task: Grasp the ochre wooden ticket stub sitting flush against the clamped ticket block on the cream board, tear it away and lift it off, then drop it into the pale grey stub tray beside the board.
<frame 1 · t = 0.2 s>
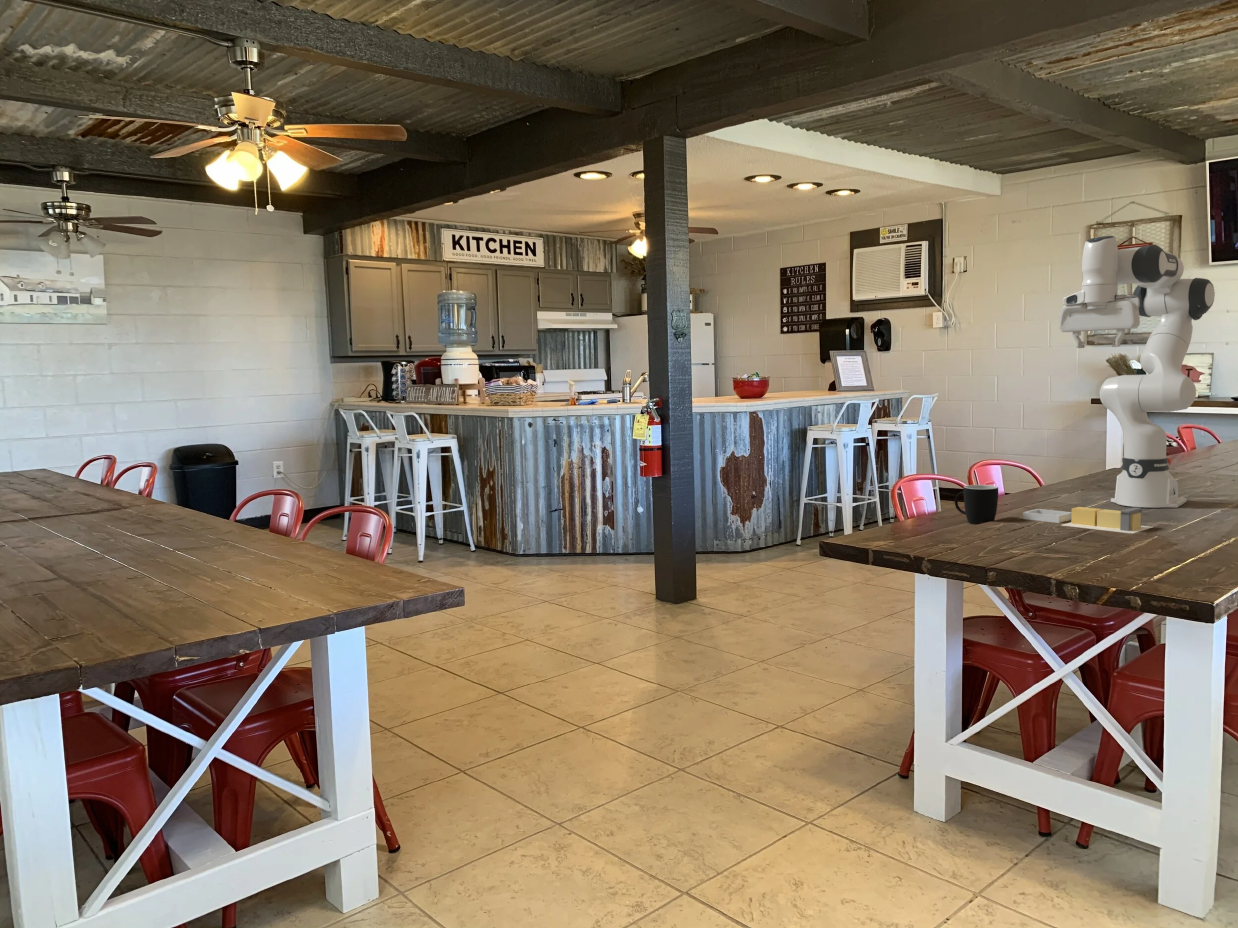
hand: (1098, 347, 252), 47 cm above the table, fingers open, 8 cm apart
stub: (1086, 523, 242), point 1 cm above the table, touching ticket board
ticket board: (1106, 530, 238), on the table
stub tray: (1047, 523, 251), on the table
mug: (975, 522, 256), on the table
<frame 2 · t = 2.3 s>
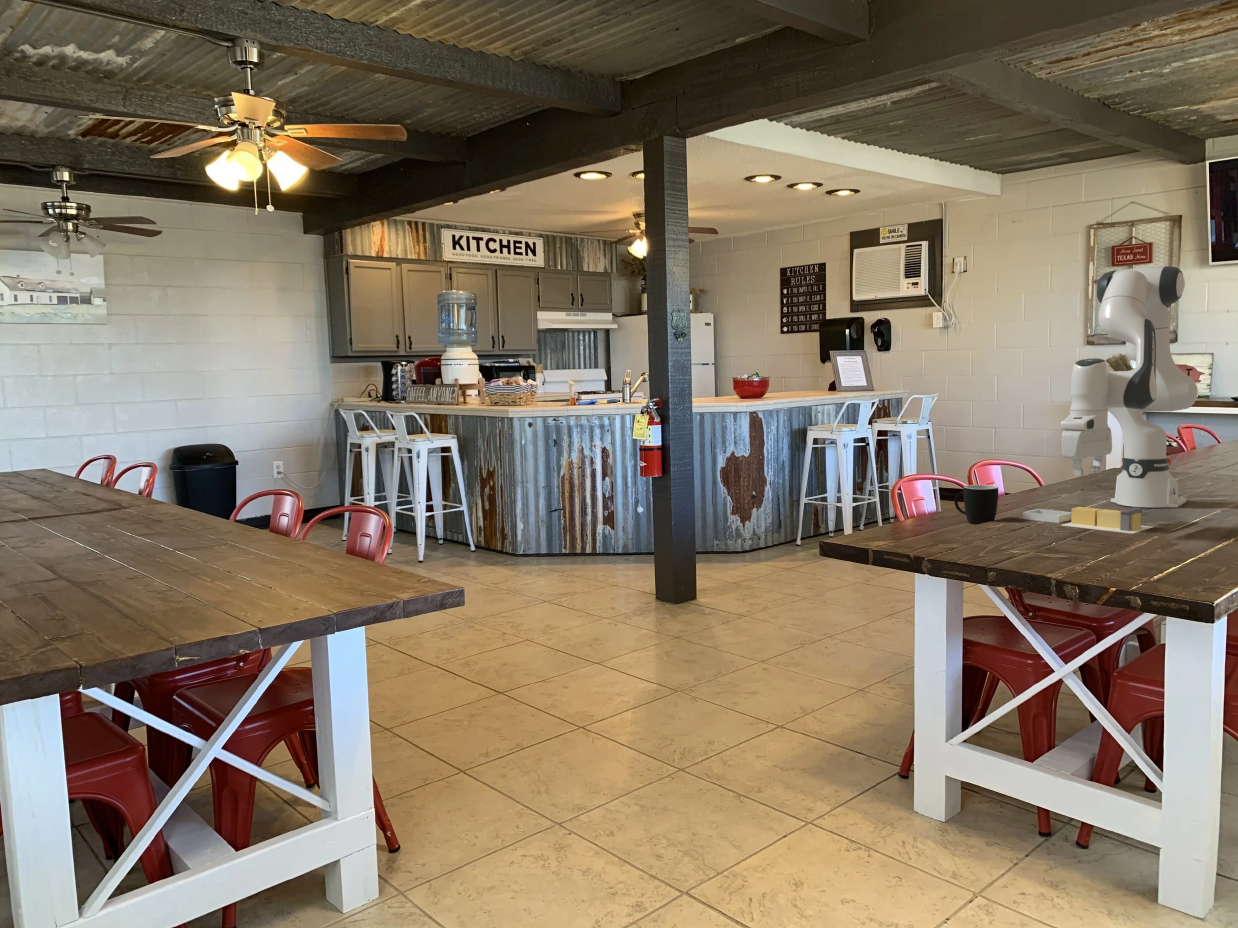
hand: (1087, 474, 240), 14 cm above the table, fingers open, 8 cm apart
nothing on the table moved.
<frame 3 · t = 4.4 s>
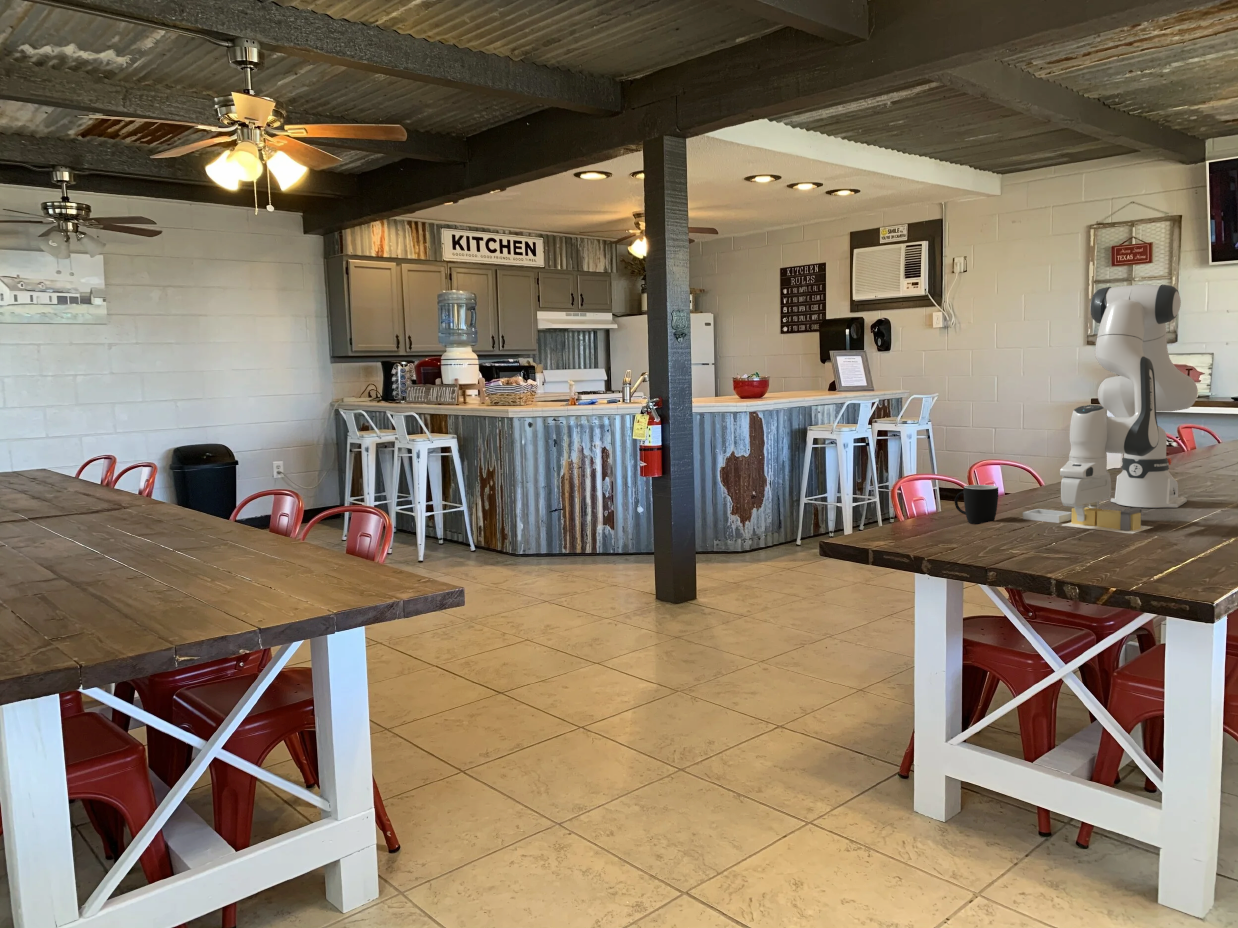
hand: (1086, 519, 241), 2 cm above the table, fingers closed on stub, 4 cm apart
stub: (1086, 523, 242), point 1 cm above the table, touching gripper, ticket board
everything else where it was.
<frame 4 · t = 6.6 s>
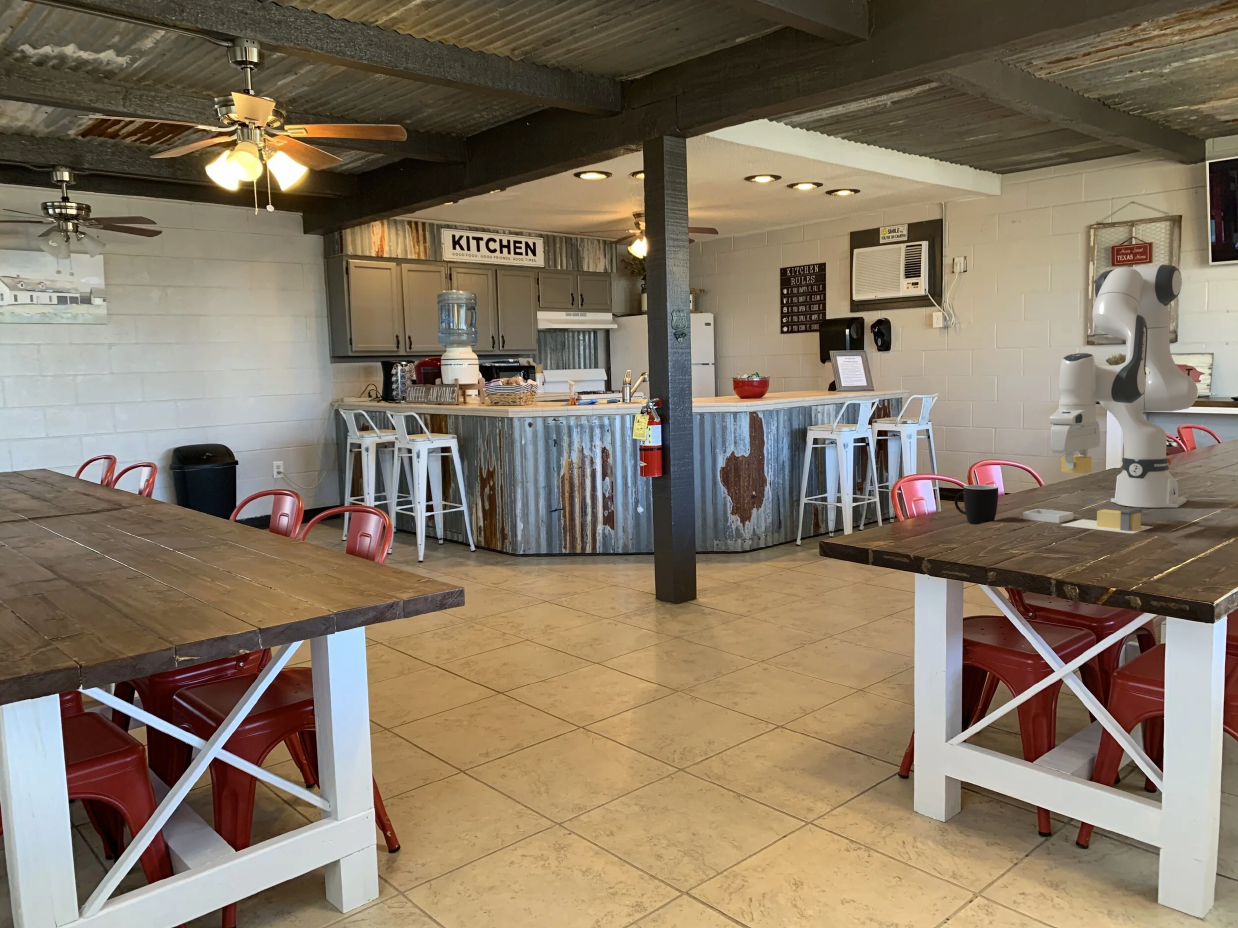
hand: (1075, 467, 243), 16 cm above the table, fingers closed on stub, 4 cm apart
stub: (1076, 471, 243), point 15 cm above the table, touching gripper
everything else where it was.
when the fingers open (4 cm above the table, at t = 9.2 s): stub drops 2 cm, resting on stub tray.
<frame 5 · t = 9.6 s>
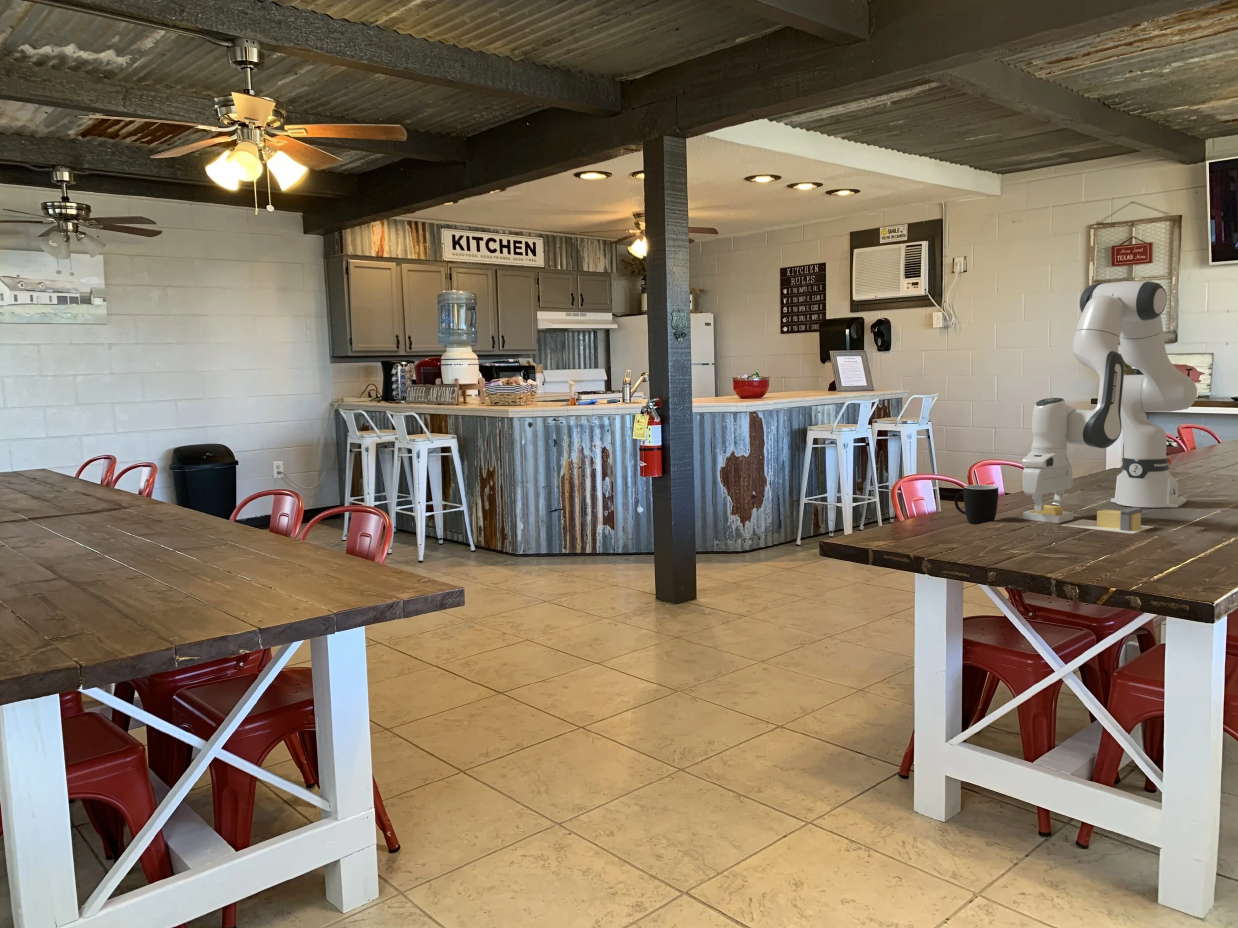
hand: (1048, 508, 251), 4 cm above the table, fingers open, 8 cm apart
stub: (1048, 520, 251), point 1 cm above the table, touching stub tray
everything else where it was.
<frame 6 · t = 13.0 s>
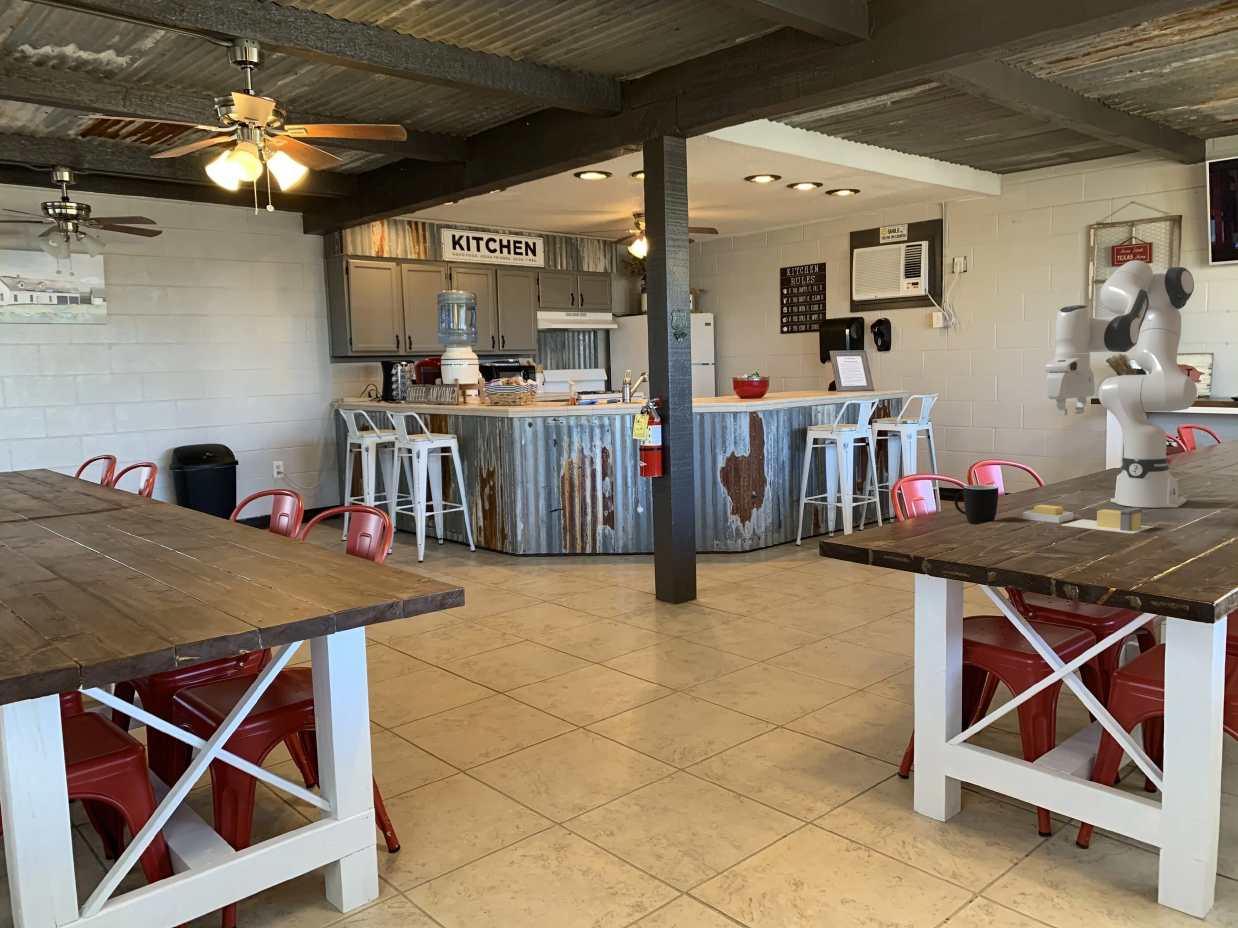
hand: (1071, 414, 255), 29 cm above the table, fingers open, 8 cm apart
nothing on the table moved.
at the end: stub 0.1 cm off-centre on the stub tray, point 0.6 cm above the stub tray's base; stub touching stub tray; the gripper is holding nothing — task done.
